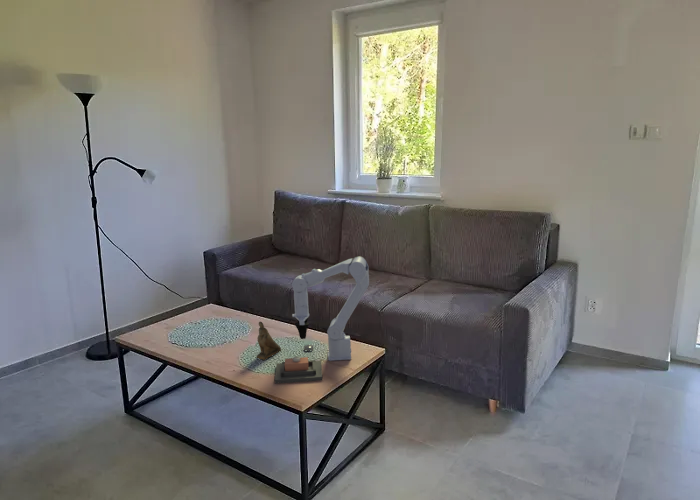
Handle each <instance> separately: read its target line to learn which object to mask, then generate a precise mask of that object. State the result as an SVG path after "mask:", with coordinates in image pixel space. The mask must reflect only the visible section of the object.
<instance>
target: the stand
mask: <svg viewBox="0 0 700 500" xmlns="http://www.w3.org/2000/svg"><path fill="white" fill-rule="evenodd" d="M308 366H309V370H299V371H285V361H281V363H276V367H275V373H274V374H275V376H274V384H289V383H304V382H317V381H323V369H322V360H316V359H311V360H309V359H308Z"/></svg>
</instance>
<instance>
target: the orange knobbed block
mask: <svg viewBox="0 0 700 500" xmlns="http://www.w3.org/2000/svg"><path fill="white" fill-rule="evenodd" d="M308 361H309V357H307V356H306V357H305V356H304V357H300V356H293V357H292V358H285V359H284V362H285V371H299V370H309V366H308Z"/></svg>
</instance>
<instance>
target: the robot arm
mask: <svg viewBox="0 0 700 500" xmlns="http://www.w3.org/2000/svg"><path fill="white" fill-rule="evenodd" d="M369 269H370V268H369V265H368V262H367V260H366V259H365V258H364V257H363V256H355V257H354V258H348V259H346V260H342V261H341V262H339V263H336V264H335V265H332V266H330V267H328V268H327V267H326V268H325V269H320V268H318V269H316V268H313V269H311V271H309V272H306V273H301V274H300V275H297V276H296V277H295V278H294V279H293V281H292V282H291V287H292V290H293V300H294V301H293V302H294V303H293V304H294V313H292V315H291V316H292V318H295V319H296V320H297V322H295V323H294V325H295V328H296V329H297V332H298V336H299V339H300V340H305V339H306V338H307V330H308V328H309V325H310V322H308V320H309V317H310V313H309V312H310V311H309V295H308V294H309V293H308V288H311V287H313V286H317V285H320V284H322V283H324V281H325V279H326V278H329V277H333V276H335V275H339V274H341V273H344V274H345V275H349V274H350V275H351V277H352V278H353V279H354V280H355V286H354V287H353V290H351V292H350V294H349V296H348V298H347V300H346V301H345V302H344V305H343V306H342V308H341V309H340V311H339V313H338V314H337V316H336V317H334V318H333V319H332V320H331V322H330V323H329V324H330V325H329V326H328V328H327V331H326V333H327V337H328V338H327V341H328V343H327V344H328V346H327V347H328V351H327V359H328V361H347V360H352V347H351V345H352V343H351V337H350V335H346V333H345V332H344V330H345V328H346V325H347V323H348V321H349V320H350V317H351V316H352V314H353V313H354V311H355V309H356V308H357V306H358V304H359V303H360V301H361V299H362V298H363V296H364V294H365V292H366V291H367V289H368V287H369V285H370V275H369V274H370V273H369Z"/></svg>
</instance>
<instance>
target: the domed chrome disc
mask: <svg viewBox="0 0 700 500" xmlns="http://www.w3.org/2000/svg"><path fill="white" fill-rule="evenodd" d="M303 349H304V351H305V350H307V351H306V352H311V351H310V350H312V351H314V345H313V344H306V345H304V346H303Z"/></svg>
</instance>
